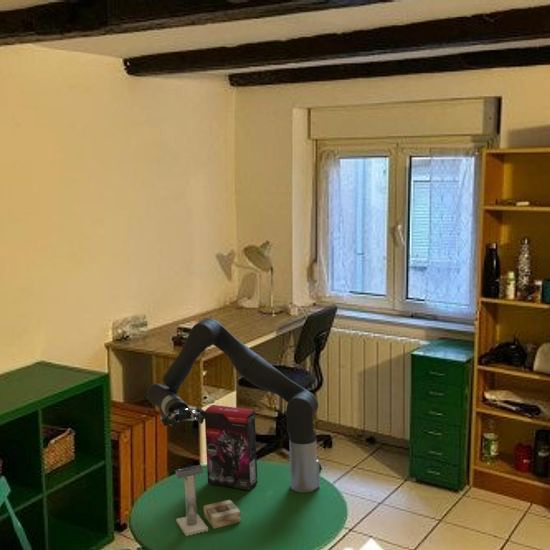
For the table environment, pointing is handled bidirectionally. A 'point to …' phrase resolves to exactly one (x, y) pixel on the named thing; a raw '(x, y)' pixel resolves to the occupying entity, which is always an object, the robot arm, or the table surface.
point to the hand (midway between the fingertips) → (189, 423)
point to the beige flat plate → (192, 529)
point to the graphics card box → (231, 447)
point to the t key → (190, 491)
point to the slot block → (222, 513)
